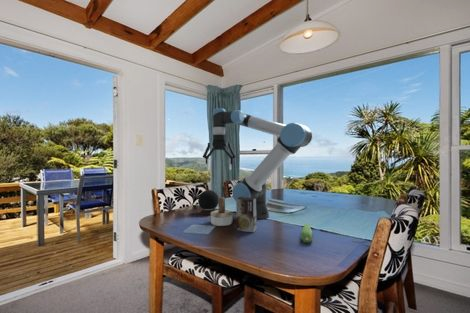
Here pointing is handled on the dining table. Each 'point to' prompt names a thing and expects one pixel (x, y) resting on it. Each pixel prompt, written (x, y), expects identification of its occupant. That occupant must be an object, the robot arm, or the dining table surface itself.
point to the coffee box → (246, 214)
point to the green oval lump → (306, 233)
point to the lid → (221, 209)
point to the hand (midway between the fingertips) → (219, 169)
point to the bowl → (221, 221)
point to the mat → (199, 229)
